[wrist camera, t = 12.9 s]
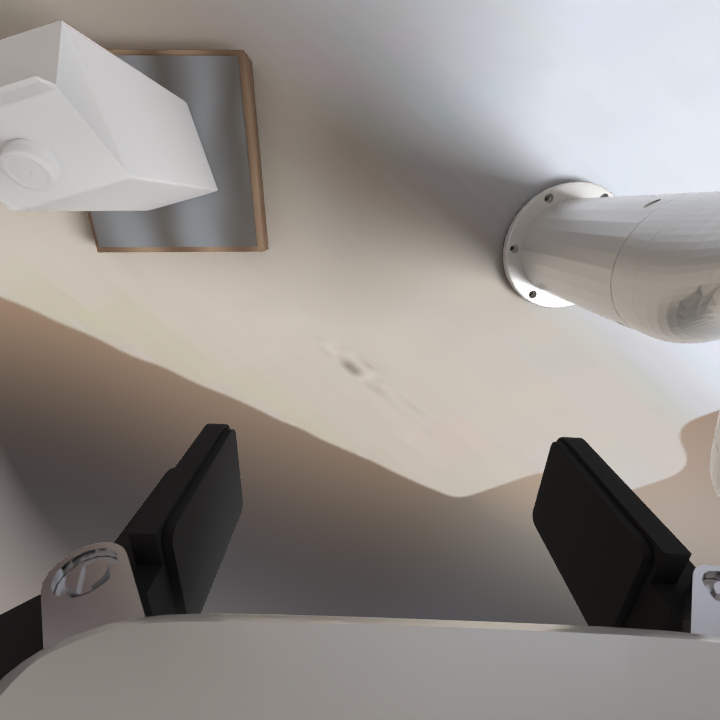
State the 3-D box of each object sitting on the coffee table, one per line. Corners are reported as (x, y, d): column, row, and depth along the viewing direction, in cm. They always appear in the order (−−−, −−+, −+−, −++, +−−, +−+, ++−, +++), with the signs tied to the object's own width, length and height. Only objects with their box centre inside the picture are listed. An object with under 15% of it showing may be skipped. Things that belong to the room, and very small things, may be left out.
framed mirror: (251, 61, 33) (242, 48, 31) (268, 248, 39) (262, 251, 37) (68, 60, 33) (42, 47, 30) (113, 249, 39) (95, 252, 36)
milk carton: (110, 125, 32) (-178, 24, 15) (187, 101, 32) (-14, -32, 14) (147, 211, 35) (-60, 213, 17) (219, 190, 34) (82, 171, 17)
